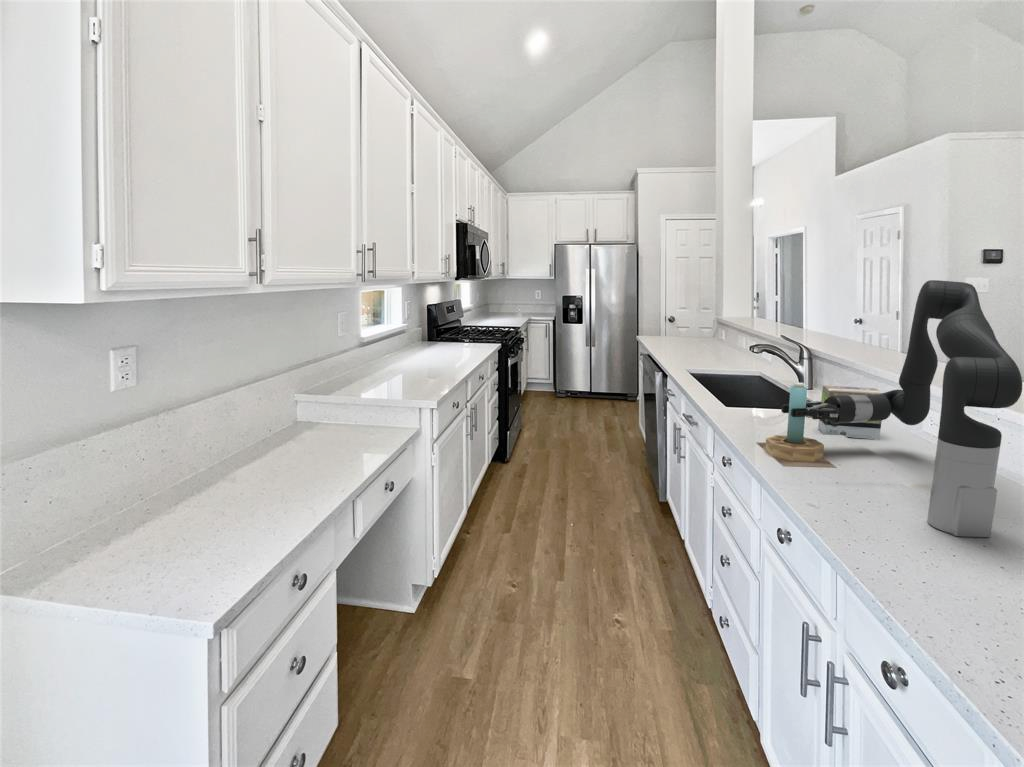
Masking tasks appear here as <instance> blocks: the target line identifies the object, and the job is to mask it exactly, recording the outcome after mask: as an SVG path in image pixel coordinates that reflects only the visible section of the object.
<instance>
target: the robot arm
mask: <svg viewBox="0 0 1024 767" xmlns="http://www.w3.org/2000/svg"><path fill="white" fill-rule="evenodd" d="M917 295H918V296H917V299H916V303H915V307H914V312H913V317H912V323H911V328H910V334H909V335H910V336H909V342H908V348H907V353H906V357H905V360H904V362H903V366H902V369H901V372H900V376H899V377H898V378H899V379H898V385H899V386H900V388H901V389H892V390H889V391H885V392H882V394H879V395H868V396H861V395H836V396H829V397H828V398H827V399H826V401H825V402H824V403H823V402H822V401H821V400H816V401H811V400H809V399H806V408H793V409H791V416H792V417H805V418H808V419H809V418H811V419H812V420H819V419H821V420H828V421H829V422H831V423H857V422H864V421H881V420H882V421H884V420H887V419H888V418H890V416H891V414H892V415H893V416H894V417H895V418H896V419H898V420H899V421H900V422H901V423H903V424H904V425H906V426H907V425H908V426H917V425H919V424H920V423H922V422H923V421H925V420H926V418H927V416H928V414H929V412H930V408H931V385H932V383H933V381H934V378H935V374H936V372H937V369H938V366H939V363H938V362H939V360H938V355H937V352H936V349H935V346H934V345H933V343H932V341H931V338H930V336H929V330H928V323H929V320H930V319H935V320H940V321H939V323H938V325H937V327H936V331H935V335H936V340H937V342H938V346H939V348H940V350H941V352H942V353H943V354H944V355H945V356H946V357H947V358H948V359H949V360H948V361H947V363H946V364H945V368H944V371H943V376H942V392H941V393H942V394H941V410H940V415H939V416H940V417H939V418H940V419H939V425H938V427H939V428H938V432H937V433H938V435H937V443H936V452H935V457H934V458H935V459H934V464H933V465H934V466H933V471H932V472H933V473H932V480H931V488H930V495H929V496H930V497H929V505H928V513H927V523H928V524H929V525H930V526H931V527H933V528H936V529H938V530H940V531H943V532H946V533H948V534H951V535H953V536H956V537H969V538H970V537H975V538H991V536H992V528H993V522H994V515H995V509H996V502H997V496H998V489H997V488H996V487H995V485H996V479H997V470H998V464H999V457H1000V450H1001V443H1002V436H1003V435H1002V432H1001V431H1000V430H999V428H997V427H994V426H991V425H989V424H987V423H983V422H980V421H978V420H975V419H974V418H972V417H970V416H969V415H967V414H966V413H965V407H971V408H984V409H1005V408H1010V407H1012V406H1014V405H1015V404H1016V403H1017V402H1018V401H1019V400H1020V399H1021V398H1020V397H1021V396H1022V392H1023V379H1022V378H1023V377H1022V374H1021V371H1020V369H1019V367H1018V364H1016V362H1015V360H1014V359H1013V358H1012V357H1011V356H1010V355H1009V354H1008V353H1007V351H1006V350H1005V349H1004V348H1003V347H1002V346H1001V344H1000V343H999V341H998V339H997V337H996V334H995V333H994V330H993V328H992V326H991V324H990V323H989V321H988V320H987V319H986V317H985V314H984V311H983V310H982V308H981V303H980V300H979V294H978V291H977V289H976V287H975V286H974V285H973V284H972V283H968V282H964V281H952V280H950V281H949V280H935V279H933V280H931V279H930V280H927V281H925V282H924V283H923V285H922V287H921V288H920V290H919V292H918V294H917ZM781 413H782V414H789V404H782V405H781Z"/></svg>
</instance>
